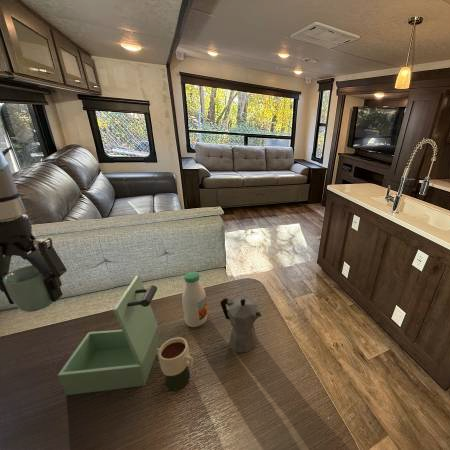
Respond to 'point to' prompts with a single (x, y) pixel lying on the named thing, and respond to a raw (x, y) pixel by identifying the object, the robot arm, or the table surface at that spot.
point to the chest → (106, 364)
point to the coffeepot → (241, 322)
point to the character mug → (175, 362)
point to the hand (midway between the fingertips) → (37, 299)
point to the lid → (137, 317)
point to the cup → (27, 289)
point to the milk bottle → (194, 301)
